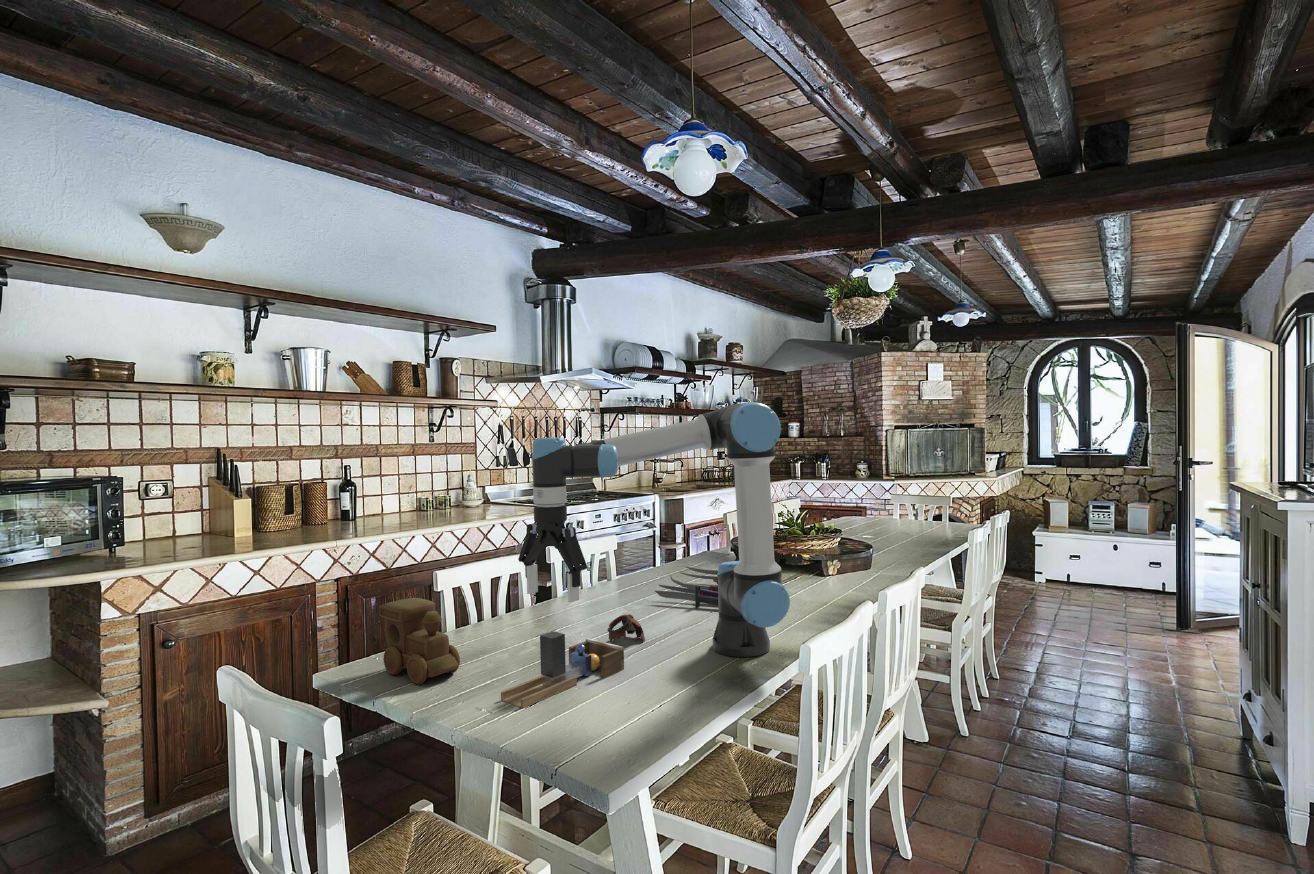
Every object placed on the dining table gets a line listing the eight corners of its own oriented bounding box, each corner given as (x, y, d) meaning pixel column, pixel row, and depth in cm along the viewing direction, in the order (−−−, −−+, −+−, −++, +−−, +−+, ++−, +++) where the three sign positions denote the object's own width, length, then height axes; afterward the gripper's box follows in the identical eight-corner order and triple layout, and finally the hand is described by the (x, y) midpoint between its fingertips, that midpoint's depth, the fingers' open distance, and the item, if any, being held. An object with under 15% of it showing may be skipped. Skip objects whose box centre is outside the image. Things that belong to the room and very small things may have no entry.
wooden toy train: (377, 671, 171) (375, 605, 170) (418, 658, 180) (416, 595, 179) (423, 690, 158) (421, 618, 158) (465, 675, 167) (463, 607, 167)
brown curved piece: (647, 648, 186) (632, 624, 184) (616, 662, 188) (601, 638, 186) (648, 624, 198) (634, 601, 196) (620, 637, 199) (606, 615, 197)
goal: (624, 669, 169) (623, 646, 169) (604, 677, 163) (604, 654, 163) (588, 659, 176) (588, 637, 176) (569, 667, 171) (568, 645, 171)
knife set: (683, 577, 262) (684, 557, 262) (769, 588, 249) (769, 567, 249) (647, 602, 230) (647, 579, 229) (742, 616, 217) (743, 592, 217)
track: (576, 684, 159) (576, 677, 159) (523, 708, 147) (523, 699, 147) (554, 678, 164) (554, 670, 164) (500, 700, 151) (500, 691, 151)
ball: (589, 668, 165) (599, 674, 168) (596, 652, 167) (605, 658, 170) (578, 665, 168) (587, 671, 170) (584, 649, 169) (593, 655, 172)
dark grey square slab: (592, 673, 165) (591, 625, 165) (554, 689, 156) (553, 638, 155) (577, 669, 168) (576, 622, 168) (539, 684, 159) (538, 635, 158)
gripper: (501, 503, 163) (504, 592, 163) (577, 510, 147) (579, 608, 148) (526, 500, 169) (528, 586, 169) (601, 506, 153) (603, 600, 154)
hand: (552, 596), depth 159 cm, fingers open, 13 cm apart
